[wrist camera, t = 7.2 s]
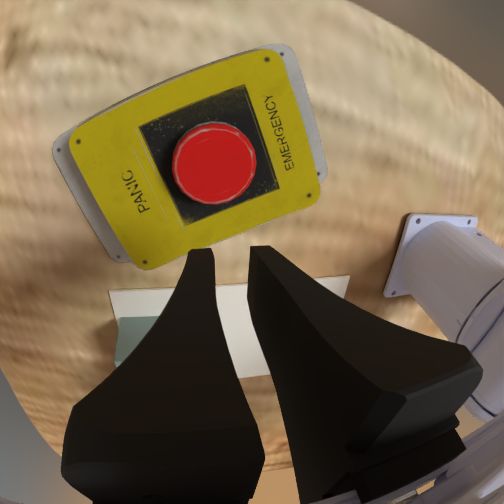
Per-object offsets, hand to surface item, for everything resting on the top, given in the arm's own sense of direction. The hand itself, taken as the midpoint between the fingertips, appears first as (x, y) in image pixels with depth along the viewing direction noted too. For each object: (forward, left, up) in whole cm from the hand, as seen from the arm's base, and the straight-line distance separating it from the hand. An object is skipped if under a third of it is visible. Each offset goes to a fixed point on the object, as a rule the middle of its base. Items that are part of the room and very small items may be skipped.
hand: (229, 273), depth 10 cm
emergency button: (+1, -2, -10) cm, 10 cm away
